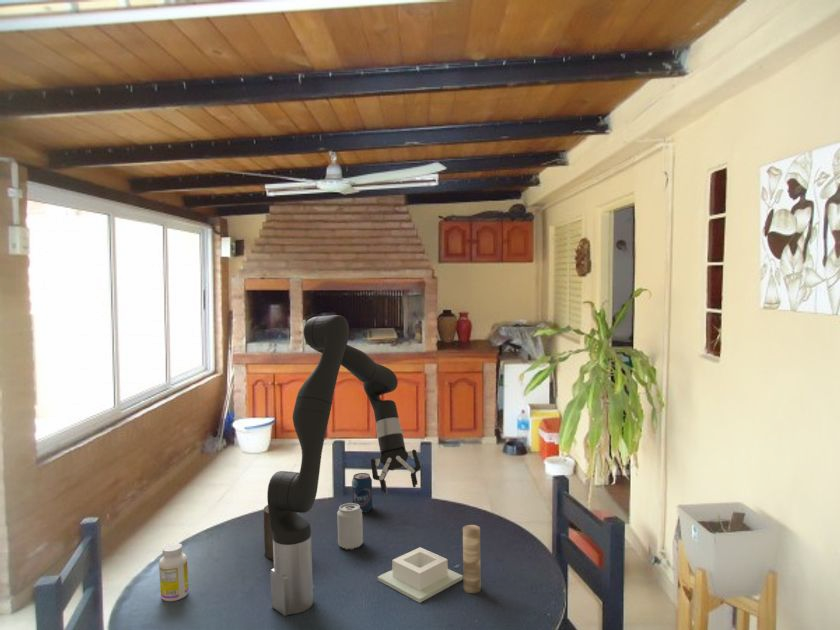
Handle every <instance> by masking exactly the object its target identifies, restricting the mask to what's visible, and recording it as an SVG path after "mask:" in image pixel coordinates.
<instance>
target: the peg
mask: <svg viewBox="0 0 840 630" xmlns="http://www.w3.org/2000/svg"><path fill="white" fill-rule="evenodd" d="M462 560H463V561H462V565H463V568H462V569H463V573H462V575H463V579H462V580H463V591H464V592H465V593H468V594H477V593H479V592H481V588H482V587H481V586H482V582H481V578H482V576H481V573H482V572H481V527H480V526H478V525H475V524H467V525H464V526H463V527H462Z"/></svg>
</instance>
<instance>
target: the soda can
mask: <svg viewBox="0 0 840 630" xmlns="http://www.w3.org/2000/svg"><path fill="white" fill-rule="evenodd" d="M351 500H352V501H351V503H355V504H358V505H359V506H360V509H361V510H362V512H363V513H368V512H369V510H370V511H371V510H372V509H373V478H372V477H371V475H370V473H367V472H359V473H355V474H354V475H353V478H352V479H351ZM367 511H368V512H367Z"/></svg>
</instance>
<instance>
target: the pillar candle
mask: <svg viewBox="0 0 840 630" xmlns="http://www.w3.org/2000/svg"><path fill="white" fill-rule="evenodd" d="M296 513H297V514H298V512H296ZM263 537H264V554H263V555H264V557H265V558H267V559H269V560H273V561H274V558H273V534H272V532H271V529H270V522H269V511H268V504H267V505H265V506H264V508H263Z"/></svg>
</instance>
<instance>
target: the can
mask: <svg viewBox="0 0 840 630" xmlns="http://www.w3.org/2000/svg"><path fill="white" fill-rule="evenodd" d="M336 516H337V517H336V519H337V523H336V524H337V544H338V546H339V547H340V548H341V547H342V549H343V548H345V549H344V550H348V549H350V550H355V549H354V548H356V549H358V548H359V547H361V546H362V545H363V543H364V536H363V535H364V534H363V533H364V531H363V527H364V526H363V513H362V510H361V509H360V506H359V505H358V504H355V503H352V502H347V503H344V504H341V505H340V506H339V507H338V511H337V512H336ZM357 547H358V548H357Z"/></svg>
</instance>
